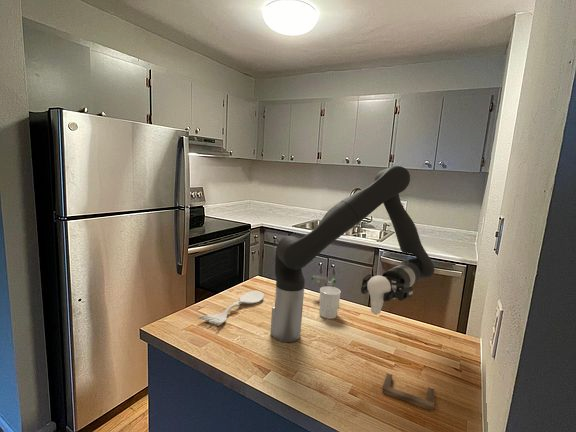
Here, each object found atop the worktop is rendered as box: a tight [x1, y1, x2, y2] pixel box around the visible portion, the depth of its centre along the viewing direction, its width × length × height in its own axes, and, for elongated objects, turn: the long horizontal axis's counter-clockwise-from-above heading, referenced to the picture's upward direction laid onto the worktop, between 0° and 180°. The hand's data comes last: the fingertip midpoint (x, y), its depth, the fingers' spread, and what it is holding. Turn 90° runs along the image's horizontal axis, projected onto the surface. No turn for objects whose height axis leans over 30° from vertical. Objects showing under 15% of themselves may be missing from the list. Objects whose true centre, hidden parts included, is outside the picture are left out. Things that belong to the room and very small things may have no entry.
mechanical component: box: [311, 274, 337, 289], centre depth 133 cm, size 3×10×10 cm, turn 78°
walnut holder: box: [381, 372, 435, 412], centre depth 80 cm, size 12×7×1 cm, turn 64°
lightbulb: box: [367, 275, 391, 315], centre depth 84 cm, size 6×6×11 cm
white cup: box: [318, 286, 342, 320], centre depth 119 cm, size 8×8×10 cm
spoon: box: [198, 290, 265, 326], centre depth 119 cm, size 9×32×4 cm, turn 153°
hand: (373, 294), depth 82 cm, fingers closed on lightbulb, 5 cm apart
